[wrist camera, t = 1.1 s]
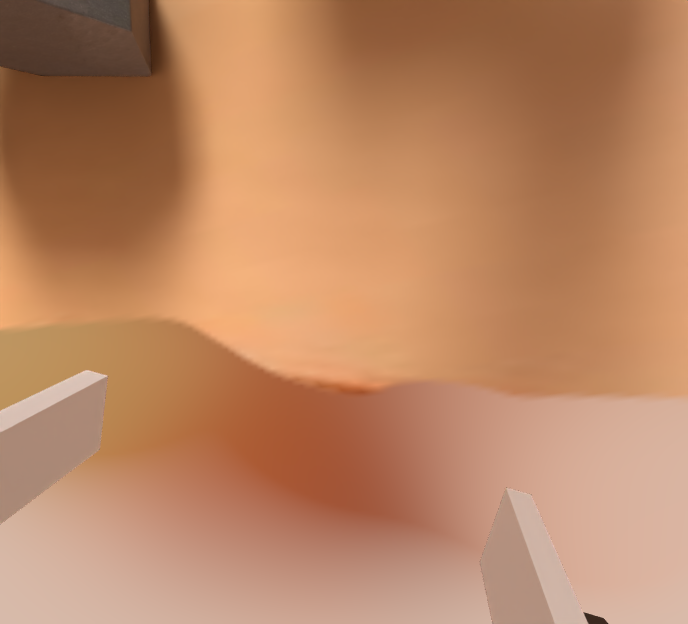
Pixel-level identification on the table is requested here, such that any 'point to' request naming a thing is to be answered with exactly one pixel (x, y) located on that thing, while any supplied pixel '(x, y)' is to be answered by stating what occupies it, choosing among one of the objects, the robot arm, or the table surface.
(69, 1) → the grey bevelled block
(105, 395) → the robot arm
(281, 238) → the table surface
